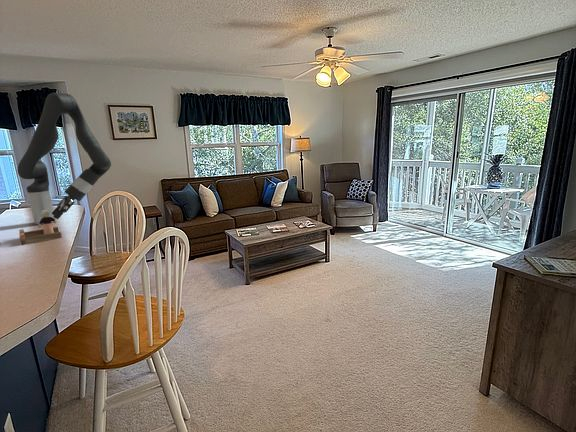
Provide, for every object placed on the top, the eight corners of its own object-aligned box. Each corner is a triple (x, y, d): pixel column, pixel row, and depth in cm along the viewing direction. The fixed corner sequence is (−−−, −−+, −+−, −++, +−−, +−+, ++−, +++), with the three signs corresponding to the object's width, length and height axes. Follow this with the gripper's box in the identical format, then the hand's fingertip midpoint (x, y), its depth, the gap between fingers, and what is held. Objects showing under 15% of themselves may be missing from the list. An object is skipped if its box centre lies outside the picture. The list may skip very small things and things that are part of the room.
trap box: (21, 238, 141) (19, 229, 140) (58, 231, 150) (56, 223, 149) (21, 244, 132) (19, 236, 131) (61, 237, 141) (59, 229, 140)
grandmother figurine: (46, 239, 139) (40, 211, 136) (39, 238, 140) (33, 211, 137) (61, 233, 146) (56, 207, 143) (55, 233, 147) (49, 207, 144)
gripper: (69, 182, 150) (44, 209, 146) (73, 185, 140) (47, 214, 135) (84, 192, 155) (60, 218, 150) (89, 195, 144) (64, 223, 140)
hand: (54, 216), depth 143 cm, fingers open, 8 cm apart
